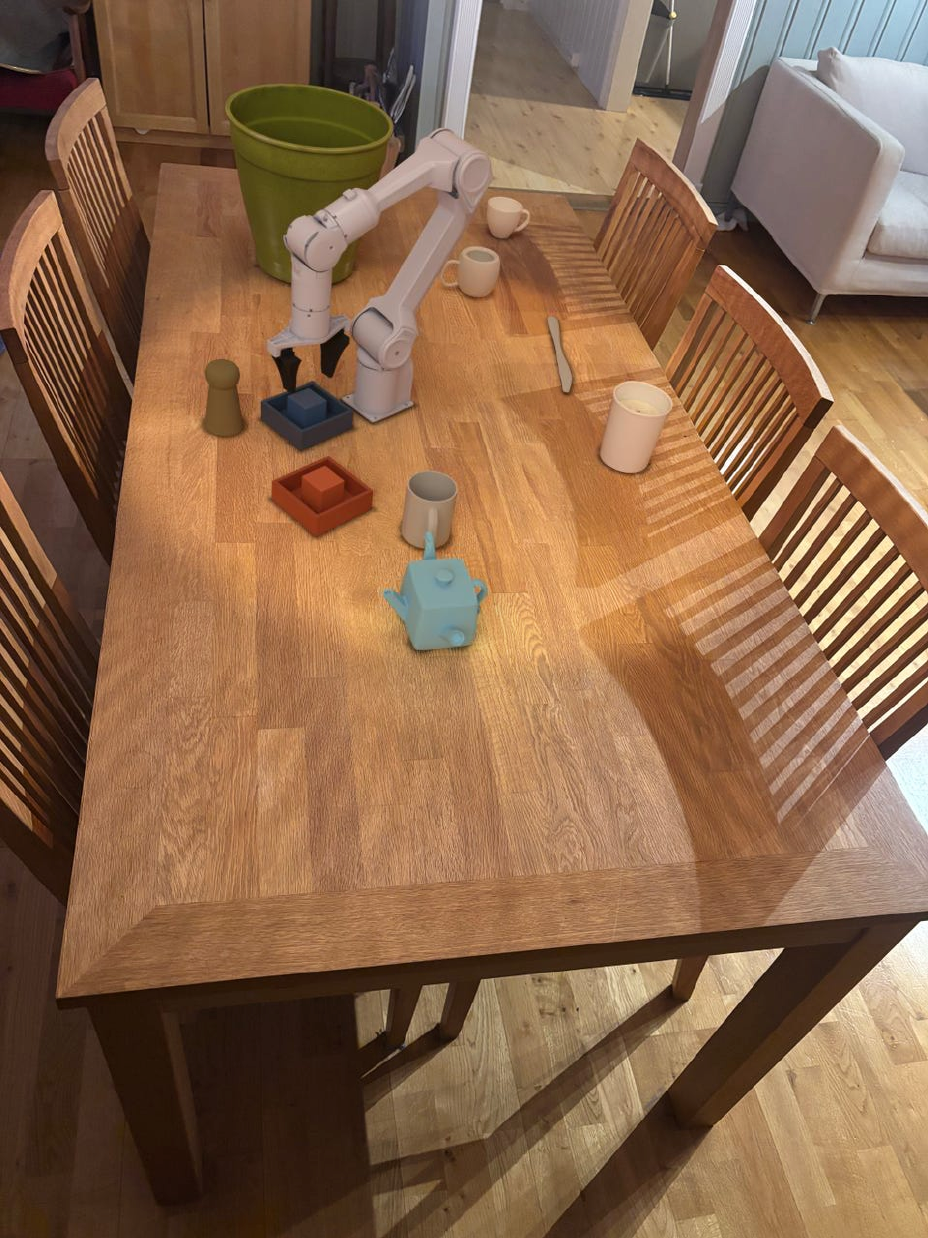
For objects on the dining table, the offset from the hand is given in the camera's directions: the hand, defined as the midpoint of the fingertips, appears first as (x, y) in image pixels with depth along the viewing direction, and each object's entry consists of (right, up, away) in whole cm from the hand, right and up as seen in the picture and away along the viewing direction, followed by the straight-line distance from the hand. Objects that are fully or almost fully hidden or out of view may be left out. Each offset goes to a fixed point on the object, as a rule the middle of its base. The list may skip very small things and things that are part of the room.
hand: (308, 382), depth 152 cm
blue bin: (-1, -5, +5) cm, 8 cm away
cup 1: (+19, -26, -10) cm, 33 cm away
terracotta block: (+3, -20, -8) cm, 22 cm away
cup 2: (+34, +49, +66) cm, 89 cm away
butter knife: (+43, +13, +33) cm, 56 cm away
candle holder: (+51, -10, +12) cm, 54 cm away
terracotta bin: (+3, -20, -8) cm, 22 cm away
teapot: (+20, -38, -22) cm, 48 cm away
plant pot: (-7, +34, +42) cm, 55 cm away
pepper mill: (-14, -6, +2) cm, 15 cm away
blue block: (-1, -5, +5) cm, 7 cm away
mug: (+25, +29, +45) cm, 59 cm away
